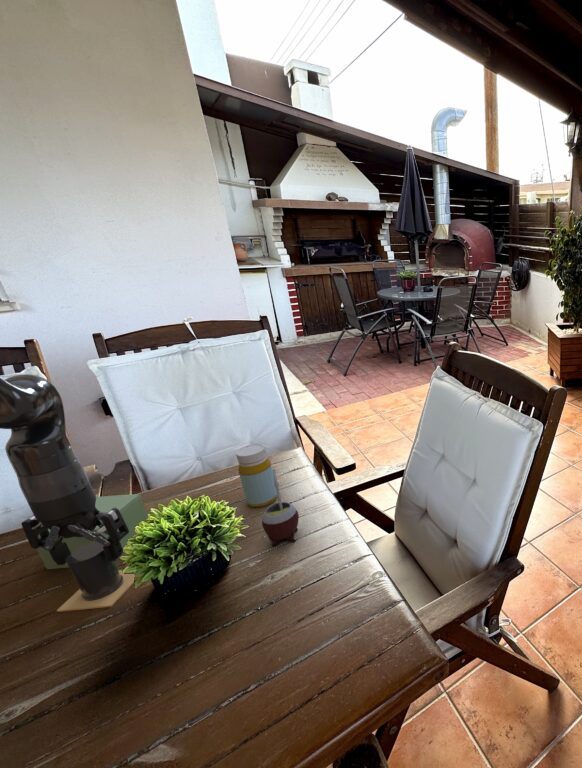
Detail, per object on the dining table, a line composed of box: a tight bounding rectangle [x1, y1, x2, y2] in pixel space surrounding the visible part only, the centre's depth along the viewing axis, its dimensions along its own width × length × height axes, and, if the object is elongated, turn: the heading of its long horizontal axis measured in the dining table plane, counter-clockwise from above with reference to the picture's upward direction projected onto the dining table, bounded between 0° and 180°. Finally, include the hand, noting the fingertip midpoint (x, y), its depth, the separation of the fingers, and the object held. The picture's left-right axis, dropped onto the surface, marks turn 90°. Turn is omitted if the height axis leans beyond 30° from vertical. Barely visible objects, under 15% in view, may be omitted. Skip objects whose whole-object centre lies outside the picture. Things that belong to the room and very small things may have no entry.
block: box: [36, 493, 149, 570], centre depth 87 cm, size 12×12×9 cm
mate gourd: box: [261, 468, 300, 548], centre depth 89 cm, size 8×8×15 cm
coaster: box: [56, 569, 135, 613], centre depth 78 cm, size 9×9×1 cm
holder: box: [66, 542, 124, 601], centre depth 76 cm, size 6×6×9 cm
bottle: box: [235, 443, 278, 508], centre depth 101 cm, size 7×7×15 cm
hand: (91, 559), depth 75 cm, fingers open, 8 cm apart
